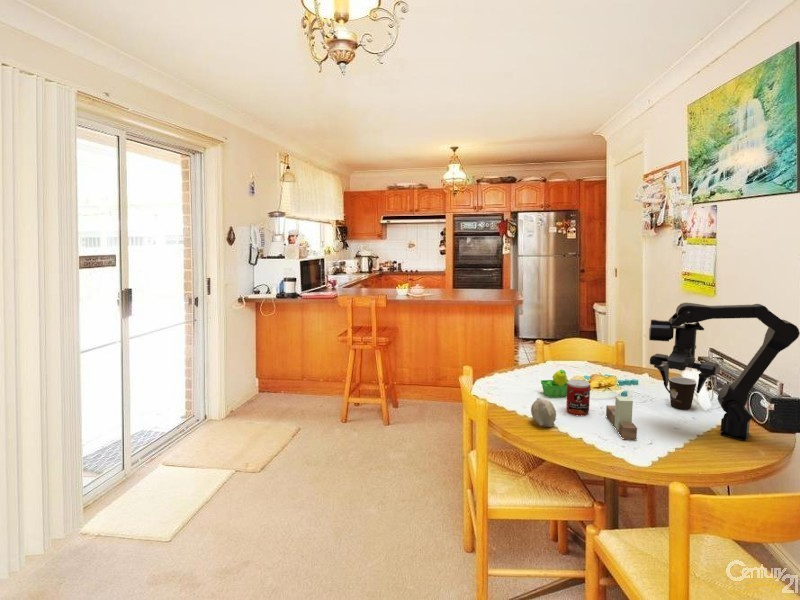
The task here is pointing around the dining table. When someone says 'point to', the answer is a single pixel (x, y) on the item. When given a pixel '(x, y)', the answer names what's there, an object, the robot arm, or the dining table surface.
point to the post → (623, 410)
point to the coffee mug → (681, 392)
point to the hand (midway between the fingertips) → (681, 389)
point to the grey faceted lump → (543, 412)
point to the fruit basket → (556, 385)
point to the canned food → (578, 397)
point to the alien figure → (621, 383)
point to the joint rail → (622, 424)
